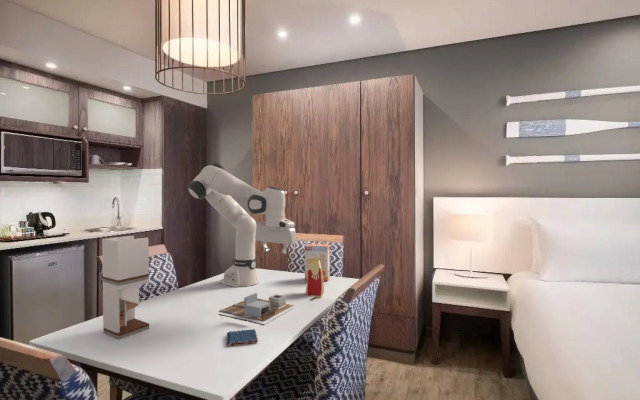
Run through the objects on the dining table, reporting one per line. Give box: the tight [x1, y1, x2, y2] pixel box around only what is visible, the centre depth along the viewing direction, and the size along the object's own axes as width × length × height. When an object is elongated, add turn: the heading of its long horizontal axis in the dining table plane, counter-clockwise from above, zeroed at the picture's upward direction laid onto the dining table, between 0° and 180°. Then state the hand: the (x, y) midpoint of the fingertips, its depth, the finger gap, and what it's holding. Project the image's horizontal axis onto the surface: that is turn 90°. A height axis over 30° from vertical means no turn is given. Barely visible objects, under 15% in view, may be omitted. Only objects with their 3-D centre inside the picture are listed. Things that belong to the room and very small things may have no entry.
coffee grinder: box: [101, 235, 150, 340], centre depth 131 cm, size 11×11×35 cm
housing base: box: [217, 298, 294, 326], centre depth 153 cm, size 24×22×4 cm
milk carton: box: [305, 256, 325, 298], centre depth 178 cm, size 9×9×20 cm
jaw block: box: [268, 293, 287, 308], centre depth 156 cm, size 5×5×4 cm
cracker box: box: [304, 243, 331, 282], centre depth 208 cm, size 14×6×21 cm, turn 76°
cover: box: [243, 292, 270, 318], centre depth 145 cm, size 8×7×7 cm
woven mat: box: [226, 328, 258, 347], centre depth 124 cm, size 10×11×2 cm
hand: (274, 252), depth 160 cm, fingers open, 8 cm apart
